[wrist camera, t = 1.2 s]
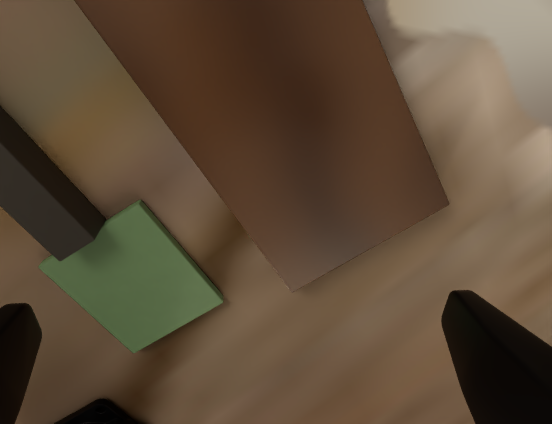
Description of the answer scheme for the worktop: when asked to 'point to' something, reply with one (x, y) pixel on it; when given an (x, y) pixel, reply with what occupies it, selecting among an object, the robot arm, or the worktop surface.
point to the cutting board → (282, 119)
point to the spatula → (102, 249)
